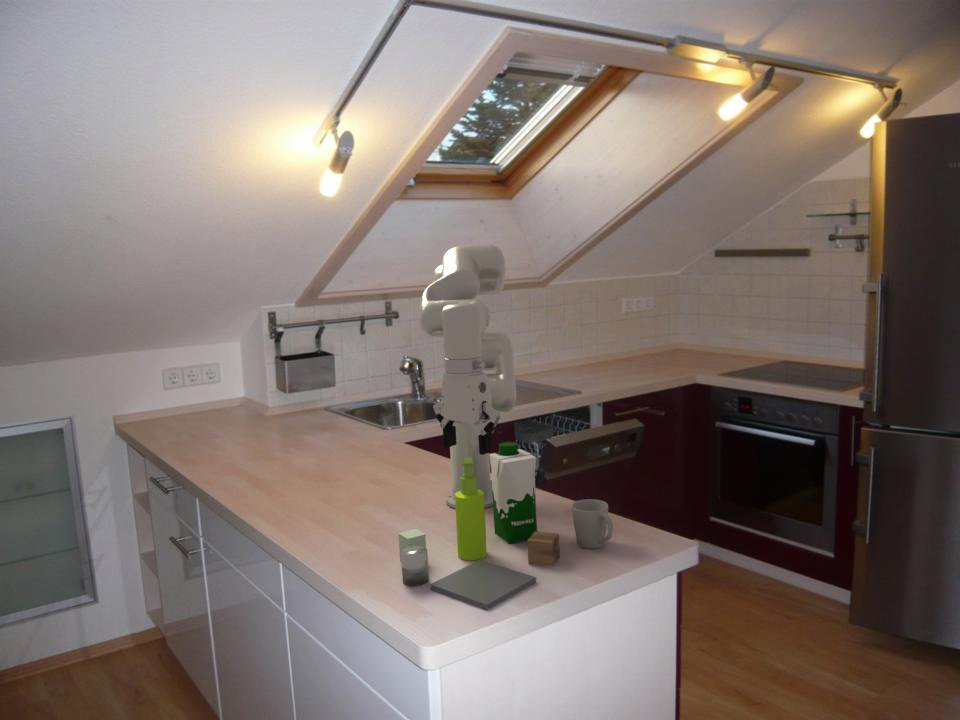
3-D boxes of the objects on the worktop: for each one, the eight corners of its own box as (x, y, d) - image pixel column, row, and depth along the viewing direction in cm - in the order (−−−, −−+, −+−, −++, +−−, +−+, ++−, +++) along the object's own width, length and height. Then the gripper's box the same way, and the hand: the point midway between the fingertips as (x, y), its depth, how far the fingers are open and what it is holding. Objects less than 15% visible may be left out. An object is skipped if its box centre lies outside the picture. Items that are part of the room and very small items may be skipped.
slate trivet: (480, 564, 159) (480, 559, 159) (536, 582, 150) (536, 577, 150) (430, 589, 149) (430, 584, 149) (486, 610, 140) (486, 604, 140)
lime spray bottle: (485, 546, 168) (481, 454, 165) (487, 559, 161) (482, 463, 158) (457, 548, 168) (453, 455, 165) (458, 561, 161) (453, 465, 158)
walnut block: (536, 554, 163) (535, 531, 162) (559, 557, 161) (559, 533, 160) (528, 564, 159) (527, 540, 158) (552, 567, 157) (551, 542, 156)
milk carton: (524, 525, 179) (521, 438, 176) (543, 538, 171) (540, 447, 168) (489, 532, 176) (484, 444, 173) (506, 546, 168) (502, 454, 165)
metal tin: (416, 573, 157) (414, 544, 156) (434, 579, 153) (432, 549, 152) (397, 582, 153) (395, 552, 152) (415, 588, 150) (413, 558, 149)
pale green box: (417, 556, 165) (415, 528, 164) (426, 562, 162) (425, 534, 161) (400, 561, 163) (398, 533, 162) (409, 567, 159) (407, 538, 159)
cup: (591, 534, 172) (591, 496, 171) (625, 548, 164) (624, 508, 163) (565, 543, 168) (563, 504, 167) (597, 558, 160) (596, 517, 158)
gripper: (509, 366, 156) (512, 451, 158) (445, 360, 167) (449, 439, 170) (483, 372, 150) (487, 460, 153) (419, 365, 162) (424, 447, 164)
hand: (467, 449), depth 161 cm, fingers open, 9 cm apart
